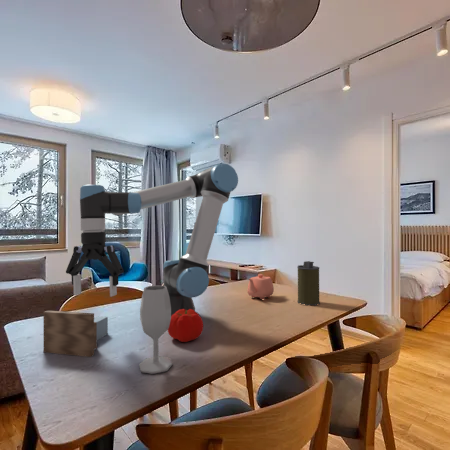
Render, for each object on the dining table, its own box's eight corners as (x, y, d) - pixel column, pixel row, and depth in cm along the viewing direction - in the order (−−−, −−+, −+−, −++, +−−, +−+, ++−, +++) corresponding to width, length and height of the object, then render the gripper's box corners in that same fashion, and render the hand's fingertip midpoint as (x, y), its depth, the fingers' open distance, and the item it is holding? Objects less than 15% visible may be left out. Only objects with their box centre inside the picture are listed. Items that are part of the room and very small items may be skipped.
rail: (107, 334, 101) (107, 316, 101) (77, 352, 87) (77, 331, 87) (97, 333, 102) (97, 316, 102) (65, 350, 88) (65, 330, 88)
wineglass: (142, 360, 81) (142, 284, 81) (174, 358, 82) (173, 284, 82) (135, 375, 73) (135, 291, 73) (170, 374, 73) (170, 290, 73)
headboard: (103, 348, 89) (103, 309, 89) (90, 356, 83) (90, 314, 84) (58, 344, 92) (58, 306, 92) (43, 352, 87) (43, 311, 87)
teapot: (260, 292, 164) (260, 271, 164) (279, 295, 156) (279, 273, 156) (239, 299, 148) (239, 276, 148) (258, 303, 141) (258, 278, 141)
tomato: (170, 332, 102) (170, 307, 102) (205, 333, 102) (204, 307, 102) (163, 345, 91) (163, 316, 92) (201, 345, 91) (201, 316, 91)
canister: (324, 303, 140) (324, 261, 140) (310, 306, 134) (309, 263, 134) (306, 298, 149) (306, 259, 149) (292, 302, 143) (292, 261, 143)
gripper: (133, 230, 98) (134, 293, 98) (69, 231, 104) (71, 291, 104) (120, 231, 91) (122, 298, 91) (52, 232, 96) (54, 296, 96)
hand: (95, 295), depth 97 cm, fingers open, 13 cm apart
